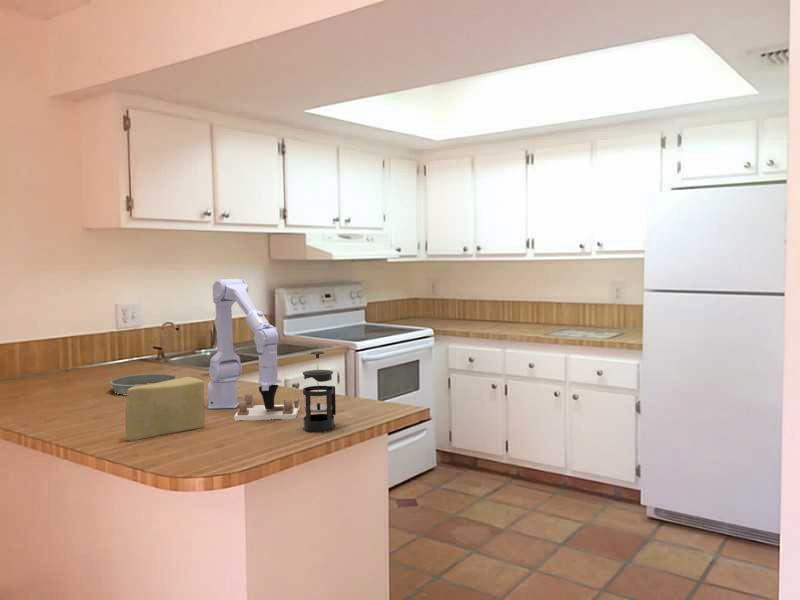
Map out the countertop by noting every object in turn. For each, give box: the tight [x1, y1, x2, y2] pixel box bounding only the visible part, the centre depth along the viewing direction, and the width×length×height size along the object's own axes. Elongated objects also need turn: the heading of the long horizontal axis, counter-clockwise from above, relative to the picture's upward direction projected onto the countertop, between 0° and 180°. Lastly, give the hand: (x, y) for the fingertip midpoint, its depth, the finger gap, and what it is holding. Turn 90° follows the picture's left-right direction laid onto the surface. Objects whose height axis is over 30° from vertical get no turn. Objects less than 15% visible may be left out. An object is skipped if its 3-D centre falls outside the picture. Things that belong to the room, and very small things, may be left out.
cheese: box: [125, 376, 206, 442], centre depth 192 cm, size 22×10×15 cm, turn 139°
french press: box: [302, 350, 337, 433], centre depth 195 cm, size 12×9×23 cm
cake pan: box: [109, 373, 179, 394], centre depth 256 cm, size 25×25×4 cm
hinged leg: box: [266, 404, 294, 411], centre depth 212 cm, size 8×2×4 cm, turn 93°
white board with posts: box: [233, 393, 301, 422], centre depth 213 cm, size 19×14×6 cm
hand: (269, 408), depth 209 cm, fingers closed
